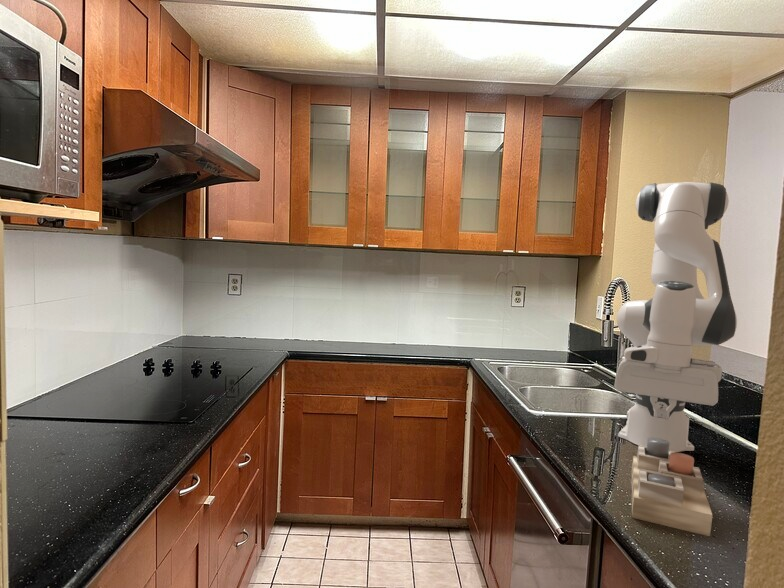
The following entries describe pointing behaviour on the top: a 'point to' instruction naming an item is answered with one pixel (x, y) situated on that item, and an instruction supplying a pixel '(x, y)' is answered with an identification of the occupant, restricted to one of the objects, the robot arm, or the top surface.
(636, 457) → the control panel
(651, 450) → the button
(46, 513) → the top surface
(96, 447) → the top surface
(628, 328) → the robot arm
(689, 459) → the middle button
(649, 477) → the button
